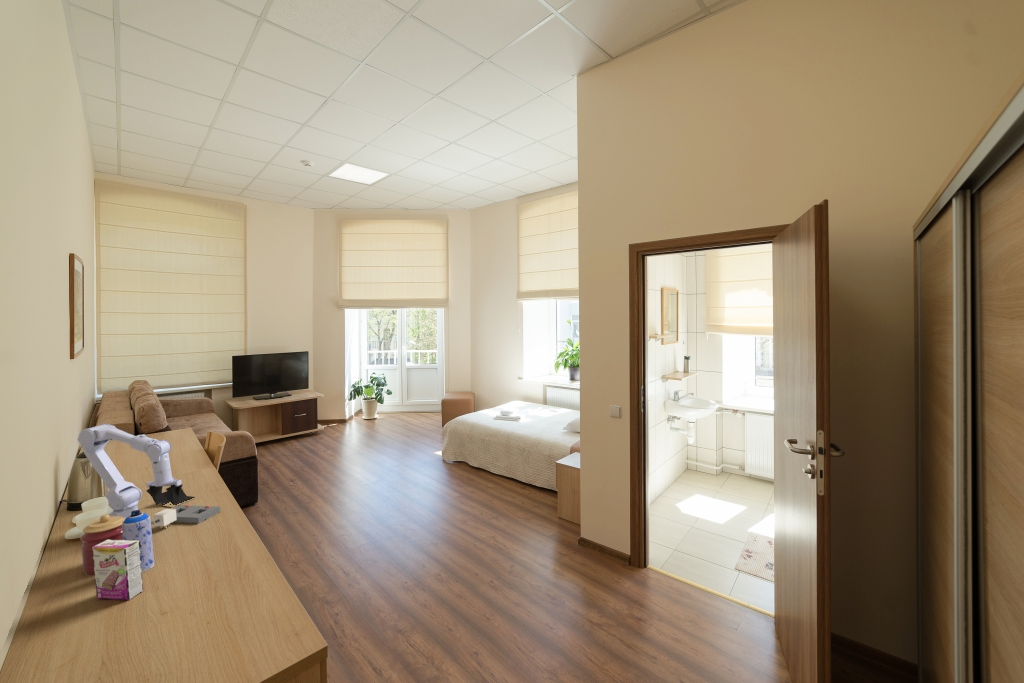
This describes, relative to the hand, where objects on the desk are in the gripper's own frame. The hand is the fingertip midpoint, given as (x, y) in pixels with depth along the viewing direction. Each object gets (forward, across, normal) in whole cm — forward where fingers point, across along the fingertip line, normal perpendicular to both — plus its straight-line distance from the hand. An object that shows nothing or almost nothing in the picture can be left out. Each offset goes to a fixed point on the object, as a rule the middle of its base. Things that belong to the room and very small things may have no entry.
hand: (166, 503), depth 184 cm
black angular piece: (+9, +21, -23) cm, 32 cm away
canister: (+10, -5, +28) cm, 30 cm away
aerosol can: (+11, -19, +29) cm, 37 cm away
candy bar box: (+11, -28, +44) cm, 53 cm away
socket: (+10, 0, -9) cm, 13 cm away
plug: (+10, +1, +1) cm, 10 cm away
